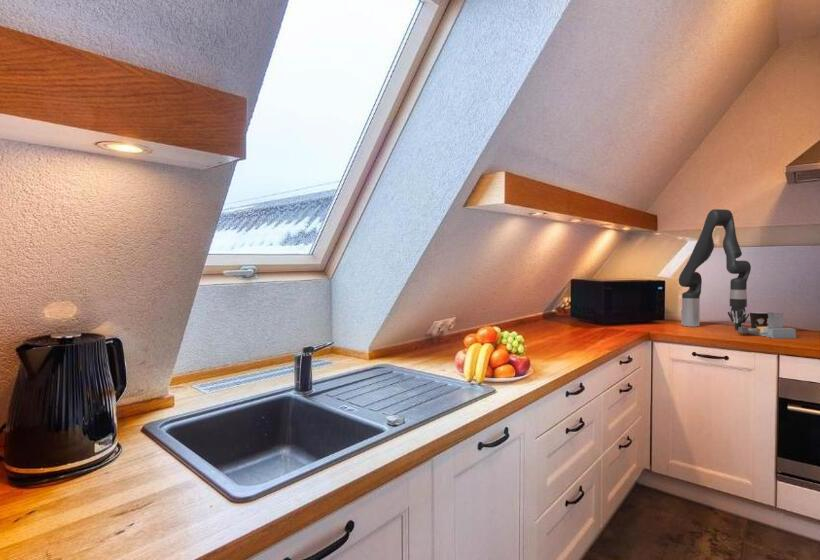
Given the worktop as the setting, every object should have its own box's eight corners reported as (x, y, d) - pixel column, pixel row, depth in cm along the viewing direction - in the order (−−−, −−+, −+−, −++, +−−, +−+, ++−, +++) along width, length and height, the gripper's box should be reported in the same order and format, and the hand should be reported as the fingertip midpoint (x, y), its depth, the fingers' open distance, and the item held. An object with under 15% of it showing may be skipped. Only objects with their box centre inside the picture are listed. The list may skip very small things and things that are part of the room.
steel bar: (768, 333, 239) (768, 312, 238) (777, 333, 239) (777, 312, 239) (773, 334, 235) (773, 312, 235) (783, 334, 235) (783, 312, 235)
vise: (743, 332, 251) (743, 324, 251) (764, 332, 252) (764, 324, 252) (773, 338, 231) (773, 329, 231) (796, 338, 232) (796, 329, 232)
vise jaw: (738, 332, 242) (738, 326, 242) (778, 331, 242) (778, 326, 242) (742, 333, 238) (742, 327, 238) (784, 332, 239) (784, 327, 239)
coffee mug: (747, 330, 261) (747, 312, 261) (751, 328, 267) (751, 311, 267) (773, 332, 253) (773, 314, 252) (776, 330, 258) (776, 312, 258)
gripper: (754, 298, 237) (754, 332, 237) (735, 297, 250) (735, 328, 251) (740, 299, 237) (740, 332, 237) (722, 297, 250) (722, 328, 250)
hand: (737, 330), depth 244 cm, fingers closed
